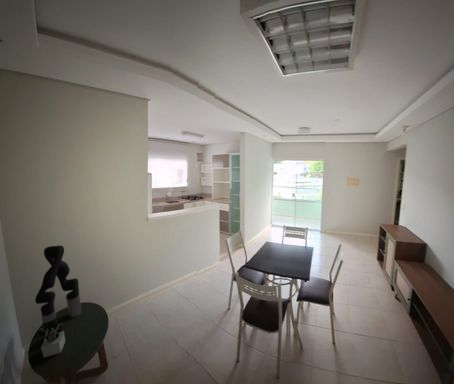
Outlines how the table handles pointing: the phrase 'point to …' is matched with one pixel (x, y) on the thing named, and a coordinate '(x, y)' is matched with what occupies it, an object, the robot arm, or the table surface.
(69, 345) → the table surface
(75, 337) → the table surface
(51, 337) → the lid
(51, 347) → the storage box
